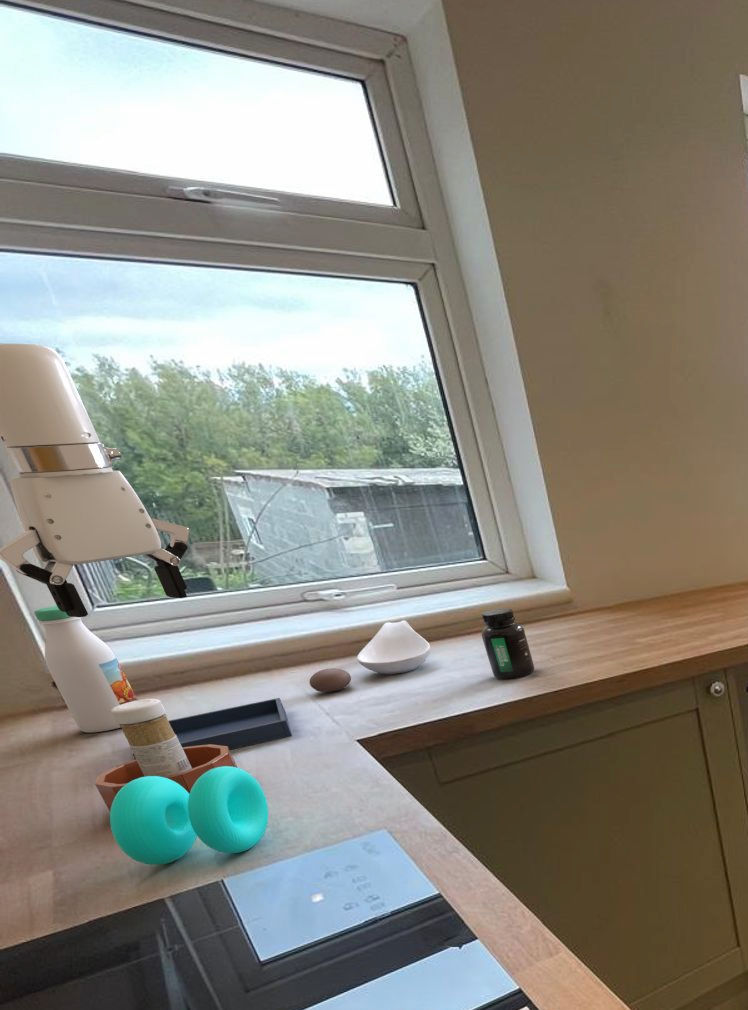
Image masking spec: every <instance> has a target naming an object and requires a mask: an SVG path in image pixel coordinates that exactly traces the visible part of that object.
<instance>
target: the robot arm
mask: <svg viewBox="0 0 748 1010" xmlns="http://www.w3.org/2000/svg"><path fill="white" fill-rule="evenodd" d="M98 436H99V435H98V434H97V431H96V429H95V427H94V424H93V422H92V420H91V417H90V416H89V414H88V411H87V410H86V407H85V405H84V403H83V401H82V398H81V396H80V394H79V392H78V389H77V387H76V385H75V382H74V380H73V378H72V376H71V373H70V371H69V369H68V367H67V365H66V363H65V361H64V359H63V357H62V356H61V355H60V354H59V353H58V352H57V351H56V350H54V349H52V348H50V347H48V346H44V345H41V344H33V343H32V344H31V343H0V438H1V441H2V442H3V445H4V447H5V449H6V451H7V453H8V455H9V457H10V459H11V462H12V463H13V466H14V467H15V469H16V471H17V474H18V475H19V477H11V478H9V481H10V487H11V492H12V496H13V500H14V504H15V506H16V509H17V512H18V515H19V518H20V522H21V524H22V527H23V530H24V532H23V533H22V534H21V535H19V536H17V537H16V538H14V539H12V540H10V541H9V542H8V543H6V544H4V545H2V546H1V547H0V560H1V561H2V562H4V563H5V564H6V565H8V566H9V567H11V568H13V569H14V570H15V571H16V572H17V573H18V574H20V575H23V576H26V577H28V578H31V579H33V580H35V581H38V582H39V583H41V584H43V585H46V587H47V588H48V591H49V593H50V595H51V597H52V598H53V601H54V603H55V606H57V607H58V608H59V610H60V611H62V612H66V614H67V615H68V616H71V617H82V618H84V617H87V616H89V612H88V610H87V608H86V606H85V604H84V602H83V600H82V599H81V596H80V594H79V592H78V590H77V588H76V586H75V584H74V583H72V582H68V580H67V578H68V577H69V574H70V573H71V572H72V571H71V570H72V569H73V567H74V566H76V565H84V564H93V563H98V562H99V563H100V562H105V561H112V560H120V559H127V558H132V557H139V556H144V557H146V558H148V559H149V560H151V561H153V562H154V563H156V564H157V565H154V569H153V570H154V571H155V573H156V576H157V579H158V580H159V582H160V583H159V584H161V588H162V589H163V591H164V594H165V596H166V597H169V598H173V599H174V598H176V599H185V598H187V597H188V596H187V592H186V590H187V584H186V582H185V579H184V578H183V575H182V572H181V570H180V568H179V566H180V565H181V563H182V561H181V559H182V558H183V556H184V555H185V553H186V552H187V551H188V542H189V538H190V537H189V536H190V529H189V527H187V526H185V525H181V524H177V523H173V522H169V521H166V520H161V519H158V518H155V517H151V516H150V514H149V513H148V511H147V509H146V507H145V505H144V503H143V501H141V499H140V497H139V495H138V494H137V493H136V491H135V489H134V488H133V487H132V485H131V484H130V482H129V481H128V480H127V478H126V477H125V476H124V474H123V473H122V472H121V470H114V469H113V468H112V467H113V462H114V461H115V460H122V453H121V452H120V450H119V449H118V448H116V447H110V448H109V447H107V446H106V447H105V445H104V443H103V442H101V441H100V439H99V437H98ZM158 531H159V532H162V533H166V534H168V535H169V536H170V538H169V540H170V541H169V543H168V544H167V545H166V547H165V549H164V548H163V547H162V539H161V537H160V535H159V532H158ZM31 549H32V550H33V552H34V554H35V556H36V558H38V559H39V561H41V562H43V563H44V564H43V566H42V567H40V566H37V565H35V564H32V563H31V562H30V561H29V560H28V559H26V558H25V557H24V554H25V553H26V552H28V551H29V550H31Z"/></svg>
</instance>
